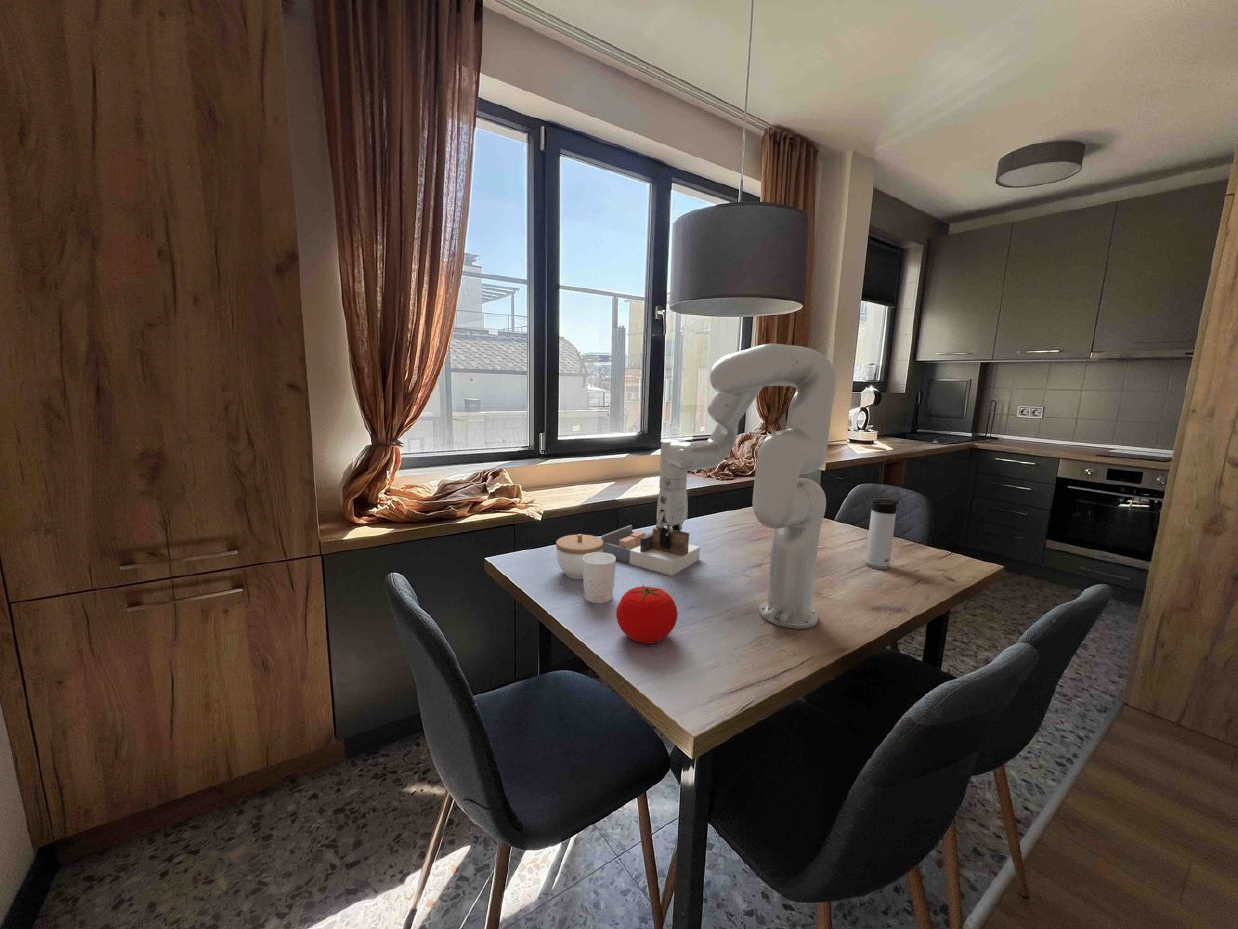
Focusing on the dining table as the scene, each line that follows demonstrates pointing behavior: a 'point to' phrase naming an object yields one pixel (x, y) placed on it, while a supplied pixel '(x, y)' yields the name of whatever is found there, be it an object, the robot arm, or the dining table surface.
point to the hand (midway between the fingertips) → (670, 545)
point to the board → (664, 559)
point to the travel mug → (881, 533)
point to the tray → (617, 543)
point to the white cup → (598, 576)
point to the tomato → (646, 614)
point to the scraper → (676, 546)
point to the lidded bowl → (576, 552)
